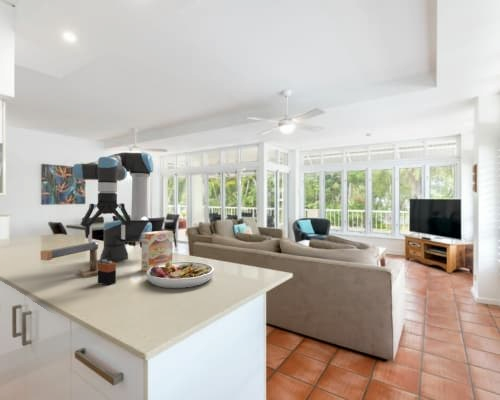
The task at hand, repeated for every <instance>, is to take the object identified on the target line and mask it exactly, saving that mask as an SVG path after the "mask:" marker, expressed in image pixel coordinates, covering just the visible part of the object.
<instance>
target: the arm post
mask: <svg viewBox="0 0 500 400" xmlns="http://www.w3.org/2000/svg"><path fill="white" fill-rule="evenodd" d="M97 262H98V249H93V250H89V268H86V269H85V268H84V269H79V270H78V273H79V274H80V275H81V276H82V277H83V278H84V279H85V278H90V277H91V278H92V277H96V276H97V277H98V263H97Z"/></svg>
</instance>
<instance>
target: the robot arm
mask: <svg viewBox="0 0 500 400" xmlns="http://www.w3.org/2000/svg"><path fill="white" fill-rule="evenodd" d="M153 172H154V162H153V158H152V155H151V154H150V153H145V152H126V151H125V152H119V153H114V154H110V155H107V156H100V157H98V159H97V160H96V161H92V162H87V163H82V162H81V163H75V164H73V167H72V176H73V177H74V179H76V180H81V181H84V180H85V181H97V192H98V193H97V204H95V203H89V205H88V210H87V211H86V213H85V215H84V217H83V218H82V220H81V222H80V226H82V227H84V228H85V235H87V243H92V242H93V227H92V225H93V224H94V223H95V222H96V221H97V219H99V217H100V216H101V215H102V214H103V215H107V214H111V215H112V214H113V215H114V216H115V217H116V218H117V219H118V220H114V221H113V220H112V221H107V222H105V223H104V224H103V249H102V251H101V254H100V256H99V260H100V262H103V261H102V260H107V261H112V262H115V263H116V262H118V263H119V262H122V261H123V262H124V261H126V260H128V259H129V254H128V253H129V252H128V250H127V248H126V243H142V233H145V232H153V231H152V229H153V224H152V222H151V221H150V220H149V218H148V217H147V211H148V210H147V206H148V203H147V202H148V178H149V177H150V176H151V173H153ZM128 173H129V176H131V178H132V180H131V185H132V186H131V210H130V211H131V212H130V214H131V215H129V214H128V212H127V210H126V208H125V203H122V202H121V203H118V194H117V192H118V182H120V181H123V180H125V179H126V178H127V175H128ZM96 208H97V211H96V212H95V213H94V214H93V216H92V217H91V215H92V213H93V212H94V210H95V209H96ZM118 208H119V209H120V212H121V213H122V215H123V216H122V215H121V213H119V212H118V210H117V209H118ZM90 217H91V218H90Z"/></svg>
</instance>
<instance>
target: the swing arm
mask: <svg viewBox="0 0 500 400" xmlns="http://www.w3.org/2000/svg"><path fill="white" fill-rule="evenodd" d="M93 249H97V250H98V249H99V241H92V243H89V242H85V243H81V244H76V245H71V246H64V247H60V248H54V249H46V250H45V249H44V250H41V251H40V260H41V261H51V260H53V259H56V258H60V257H61V258H62V257H65V256H69V255H75V254H79V253H82V252H83V253H84V252H88V251H90V250H93Z"/></svg>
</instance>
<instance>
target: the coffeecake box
mask: <svg viewBox="0 0 500 400" xmlns="http://www.w3.org/2000/svg"><path fill="white" fill-rule="evenodd" d="M173 233H174V231H172V230H158V231H157V230H156V231H155V230H154V231H152V232H145V233H142V242H141V263H140V264H141V268H140V270H141V271H144V270H145V272H147V271H148V270H149V269H150V268H152V267H154V266H157V265H161V264H166V263H173V247H174V246H173V244H174V243H173V240H174V239H173V238H174V237H173V236H174V234H173Z"/></svg>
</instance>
